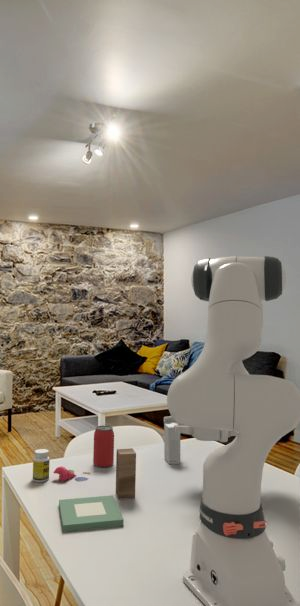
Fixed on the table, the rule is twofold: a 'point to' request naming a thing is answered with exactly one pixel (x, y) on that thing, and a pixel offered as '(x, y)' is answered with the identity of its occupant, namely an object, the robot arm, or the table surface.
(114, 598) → the table surface
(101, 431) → the beer can
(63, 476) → the toy pieces
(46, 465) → the supplement bottle
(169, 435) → the skincare box
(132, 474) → the walnut block
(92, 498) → the plate
